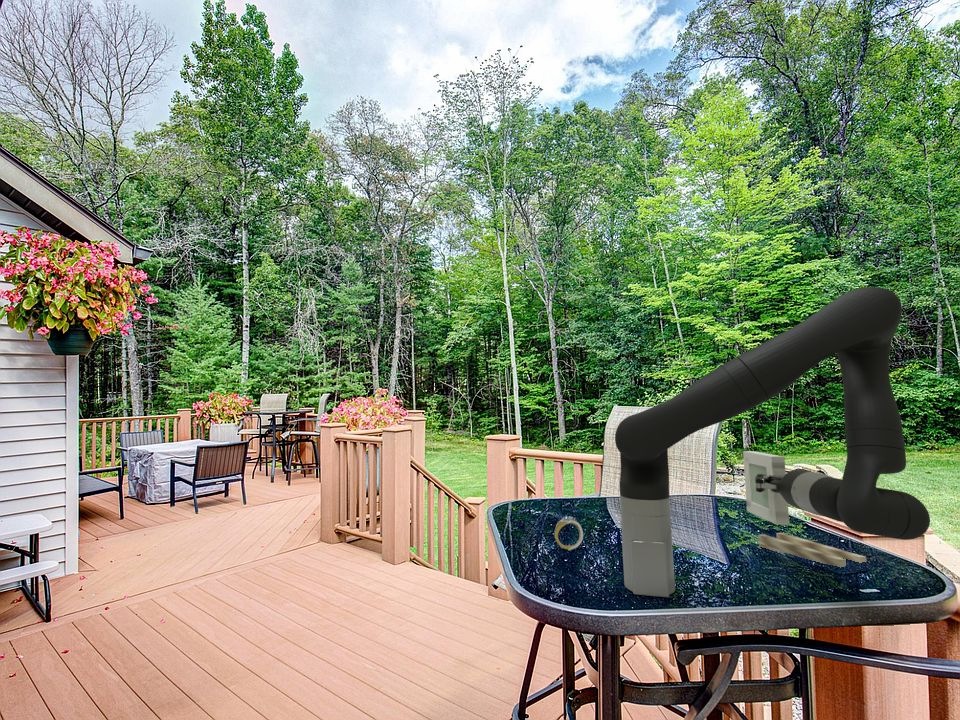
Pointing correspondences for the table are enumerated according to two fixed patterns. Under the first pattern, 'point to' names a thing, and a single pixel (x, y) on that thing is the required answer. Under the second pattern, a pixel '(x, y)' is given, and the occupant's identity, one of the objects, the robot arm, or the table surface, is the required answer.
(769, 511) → the frame
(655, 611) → the table surface
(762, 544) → the ledge
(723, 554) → the table surface
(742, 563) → the table surface
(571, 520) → the bracelet
